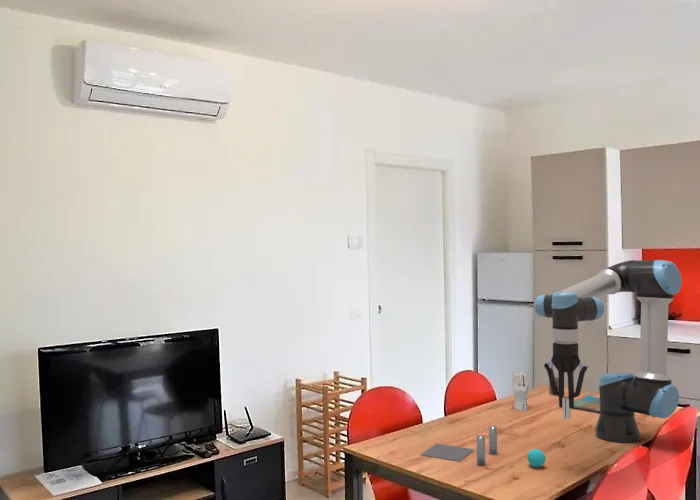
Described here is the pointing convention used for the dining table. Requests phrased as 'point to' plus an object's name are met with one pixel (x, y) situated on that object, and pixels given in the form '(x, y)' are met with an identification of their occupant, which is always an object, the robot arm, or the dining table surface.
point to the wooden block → (556, 383)
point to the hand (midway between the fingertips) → (566, 418)
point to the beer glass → (520, 390)
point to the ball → (536, 458)
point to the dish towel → (588, 404)
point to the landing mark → (447, 452)
